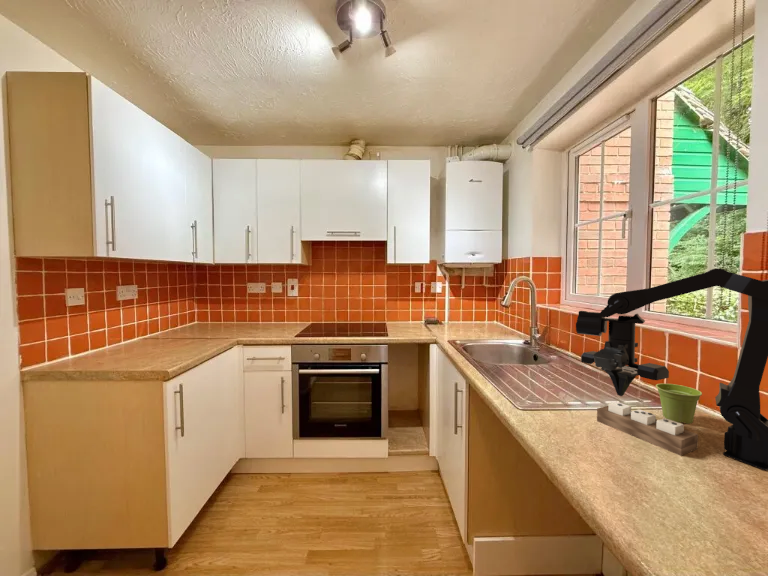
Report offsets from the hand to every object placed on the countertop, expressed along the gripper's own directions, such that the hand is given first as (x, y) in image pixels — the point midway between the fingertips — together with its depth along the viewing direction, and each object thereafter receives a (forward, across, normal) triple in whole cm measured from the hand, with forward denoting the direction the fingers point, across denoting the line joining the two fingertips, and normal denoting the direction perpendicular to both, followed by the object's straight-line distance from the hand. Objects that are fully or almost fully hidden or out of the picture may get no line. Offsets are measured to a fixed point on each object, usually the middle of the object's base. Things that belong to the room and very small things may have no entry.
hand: (620, 395), depth 84 cm
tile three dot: (+5, +5, 0) cm, 7 cm away
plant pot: (+8, +4, +18) cm, 21 cm away
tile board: (+8, +5, 0) cm, 10 cm away
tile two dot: (+5, +11, 0) cm, 12 cm away
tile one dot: (+5, 0, 0) cm, 5 cm away
